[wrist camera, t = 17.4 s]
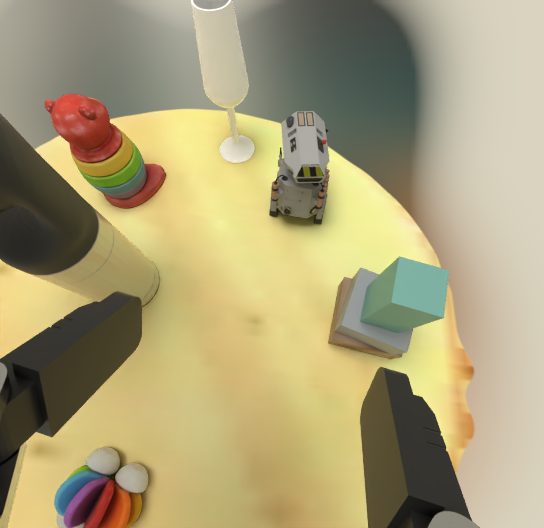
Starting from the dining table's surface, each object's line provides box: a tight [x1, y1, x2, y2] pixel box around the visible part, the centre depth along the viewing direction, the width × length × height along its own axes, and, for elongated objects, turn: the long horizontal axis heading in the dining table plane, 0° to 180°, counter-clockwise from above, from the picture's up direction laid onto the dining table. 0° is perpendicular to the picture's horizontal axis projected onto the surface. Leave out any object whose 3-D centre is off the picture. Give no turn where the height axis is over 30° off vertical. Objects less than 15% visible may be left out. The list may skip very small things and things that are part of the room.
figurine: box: [270, 111, 330, 224], centre depth 45 cm, size 9×12×15 cm
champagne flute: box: [191, 0, 255, 163], centre depth 45 cm, size 7×7×24 cm
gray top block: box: [335, 268, 413, 355], centre depth 38 cm, size 8×8×4 cm
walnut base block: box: [328, 277, 402, 359], centre depth 43 cm, size 9×9×4 cm
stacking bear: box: [45, 94, 166, 208], centre depth 46 cm, size 11×10×18 cm
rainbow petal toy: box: [55, 447, 148, 528], centre depth 34 cm, size 8×10×7 cm
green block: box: [360, 257, 449, 333], centre depth 32 cm, size 5×5×10 cm
